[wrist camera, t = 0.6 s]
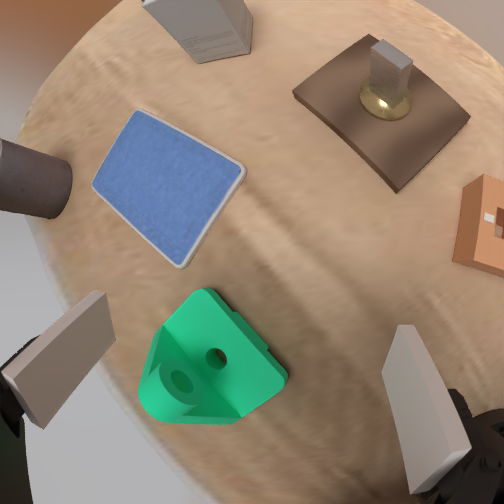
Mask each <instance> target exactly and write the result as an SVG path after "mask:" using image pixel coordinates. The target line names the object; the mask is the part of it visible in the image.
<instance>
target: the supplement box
mask: <svg viewBox="0 0 504 504" xmlns="http://www.w3.org/2000/svg"><path fill="white" fill-rule="evenodd" d="M142 7H143V8H144V9H146V10H147V11H148V12H149V13H150V14H151V15H152V16H153V17H154V18H155V19H156V20H157V21H158V22H159V23H160V24H161V25H162V26H163V27H164V28H165V29H166V31H167V32H168V33H169V34H170V35H171V36H172V37H173V38H174V39H175V40H176V41H177V42H178V43H179V44H180V45H181V46H182V48H183V49H184V50H185V51H186V52H187V53H188V54H189V55H190V56H191V57H192V58H193V59H194V61H195V62H196V63H197V64H200V63H204V62H208V61H212V60H217V59H222V58H227V57H232V56H237V55H243V54H249V53H250V46H251V35H252V24H253V18H252V16H251V14H250V12H249V10H248V8H247V6H246V5H245V3H244V1H243V0H145V1H144V3H143V5H142Z"/></svg>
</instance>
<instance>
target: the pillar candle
mask: <svg viewBox="0 0 504 504" xmlns="http://www.w3.org/2000/svg"><path fill="white" fill-rule="evenodd" d="M71 186H72V170H71V167H70V165H69V164H68V163H67V162H65V161H63V160H60V159H58V158H55V157H52V156H49V155H47V154H44V153H41V152H38V151H35V150H32V149H29V148H26V147H23V146H20V145H17V144H14V143H11V142H9V141H6V140H3V139H1V138H0V210H2V211H8V212H12V213H20V214H26V215H31V216H37V217H43V218H44V217H45V218H47V219H52V218H53V219H54V218H55V217H57V216H58V215H59V214H60V213H61V212H62V210H63V209H64V207H65V205H66V203H67V201H68V198H69V195H70V191H71Z"/></svg>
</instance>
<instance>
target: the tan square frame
mask: <svg viewBox="0 0 504 504" xmlns="http://www.w3.org/2000/svg"><path fill="white" fill-rule="evenodd" d="M495 224H497V225H499V226H502V227H503V235H502V239H501V238H498V237H495V236H494V232H495ZM452 261H453V262H457V263H460V264H463V265H466V266H470V267H473V268H476V269H479V270H482V271H486V272H489V273H492V274H495V275H498V276H501V277H504V182H503V181H501V180H498V179H496V178H493V177H491V176H488V175H486V174H482V175H481V176H480V177H478V178H477V179H476V180H474V181H473V182H471V183H470V184H469V185H467V186H466V187H464V188H463V194H462V204H461V212H460V220H459V226H458V233H457V239H456V244H455V250H454V255H453V260H452Z"/></svg>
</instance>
